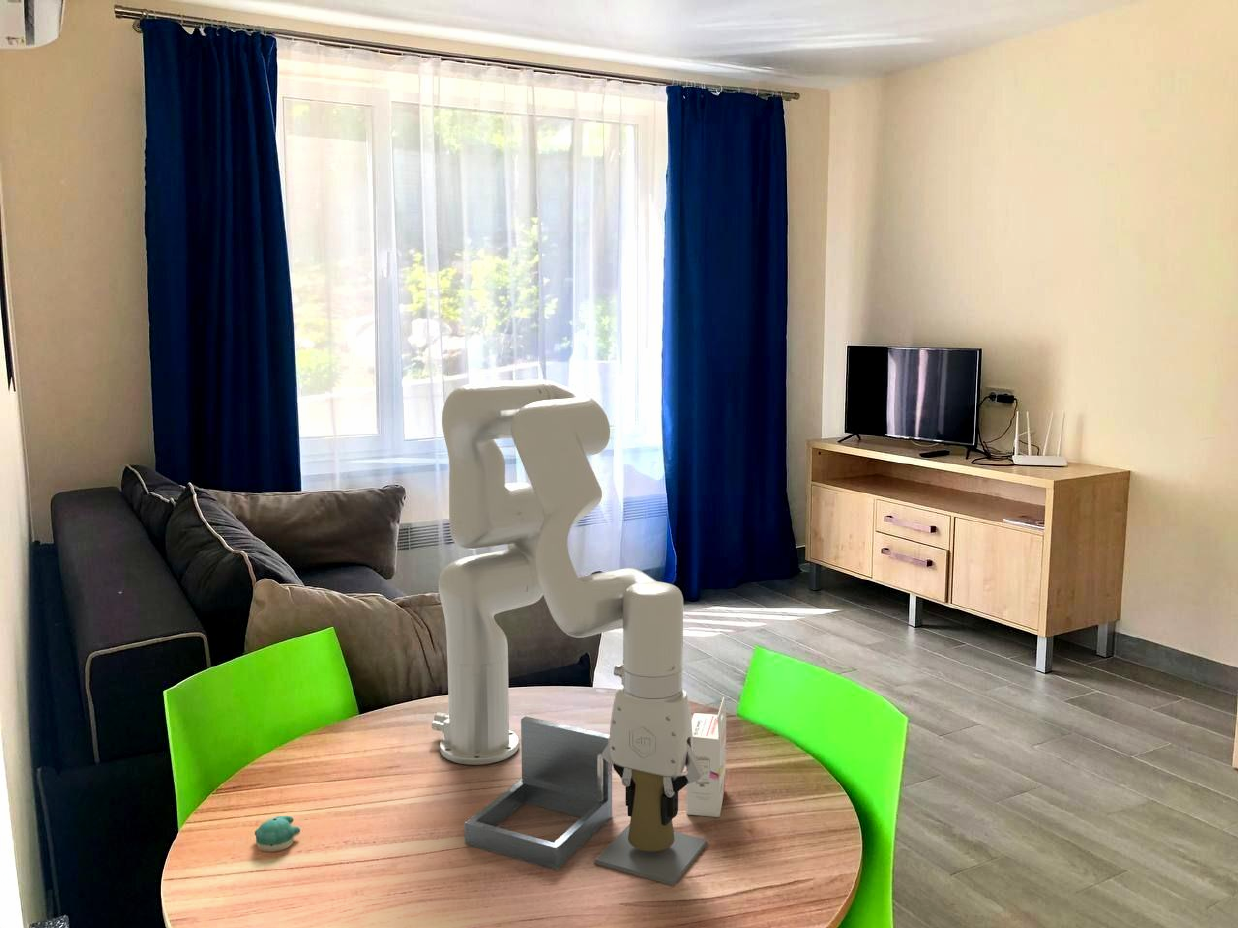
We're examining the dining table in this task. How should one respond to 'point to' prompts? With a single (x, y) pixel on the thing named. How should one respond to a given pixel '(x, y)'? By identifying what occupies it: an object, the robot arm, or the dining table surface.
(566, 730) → the open lid tray
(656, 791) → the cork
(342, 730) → the dining table surface
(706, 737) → the ink cartridge box
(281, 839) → the whale figurine
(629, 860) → the rubber mat
